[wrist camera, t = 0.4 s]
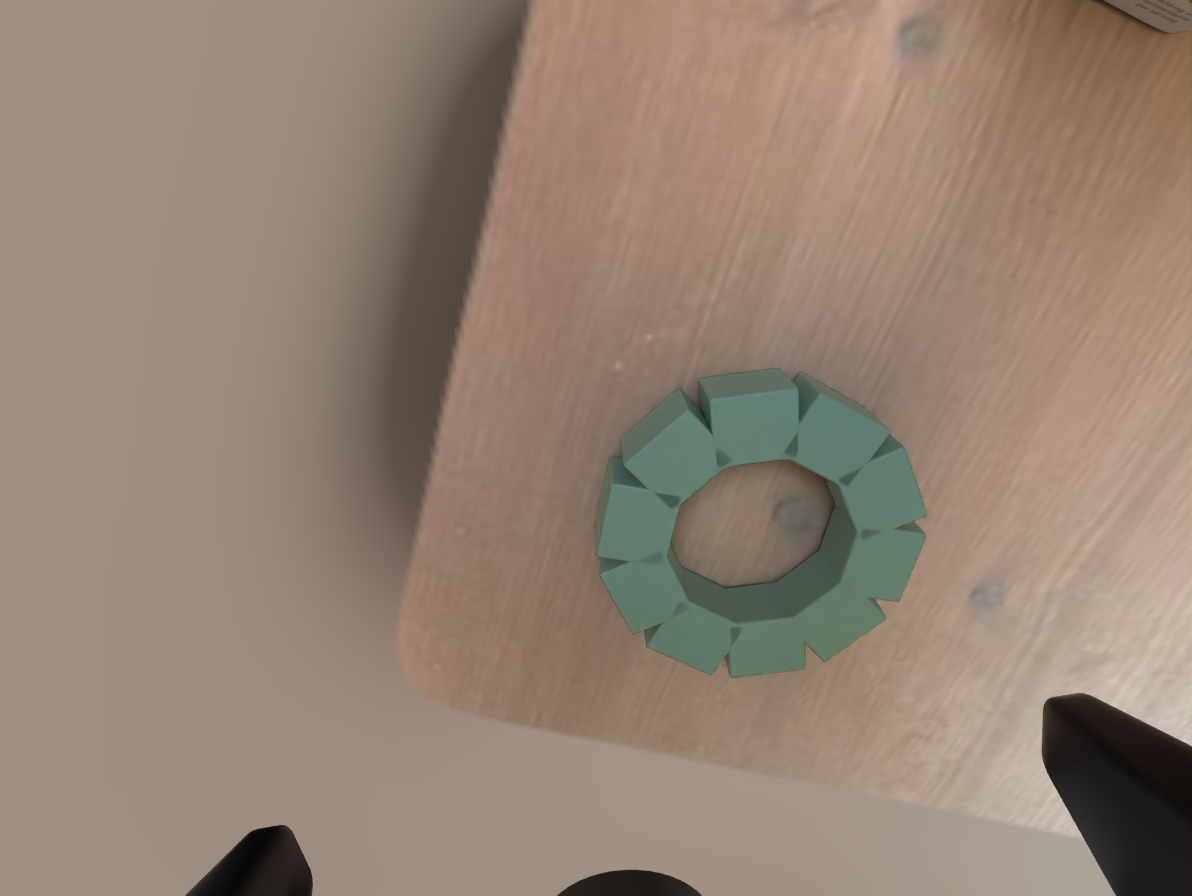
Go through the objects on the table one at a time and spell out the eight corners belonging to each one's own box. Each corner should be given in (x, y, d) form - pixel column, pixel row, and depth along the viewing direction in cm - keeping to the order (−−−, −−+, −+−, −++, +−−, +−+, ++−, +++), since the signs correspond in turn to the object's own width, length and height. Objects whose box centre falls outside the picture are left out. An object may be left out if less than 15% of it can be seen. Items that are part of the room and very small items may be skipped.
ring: (840, 314, 18) (866, 329, 16) (930, 574, 21) (961, 610, 19) (546, 446, 19) (543, 474, 18) (670, 676, 22) (678, 718, 20)
